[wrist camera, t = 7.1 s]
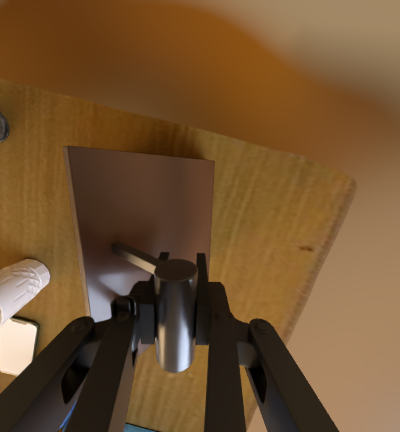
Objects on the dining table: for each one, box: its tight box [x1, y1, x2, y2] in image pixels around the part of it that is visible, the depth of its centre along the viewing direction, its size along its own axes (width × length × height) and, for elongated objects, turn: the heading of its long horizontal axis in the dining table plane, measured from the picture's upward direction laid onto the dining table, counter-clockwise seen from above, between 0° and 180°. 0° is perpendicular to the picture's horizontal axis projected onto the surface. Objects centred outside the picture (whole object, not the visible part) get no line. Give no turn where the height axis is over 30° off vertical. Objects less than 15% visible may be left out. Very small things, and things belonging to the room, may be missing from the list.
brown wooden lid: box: [63, 146, 215, 373], centre depth 17 cm, size 16×19×8 cm
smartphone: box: [0, 317, 39, 376], centre depth 41 cm, size 8×1×16 cm
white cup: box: [0, 259, 50, 326], centre depth 32 cm, size 8×8×10 cm
